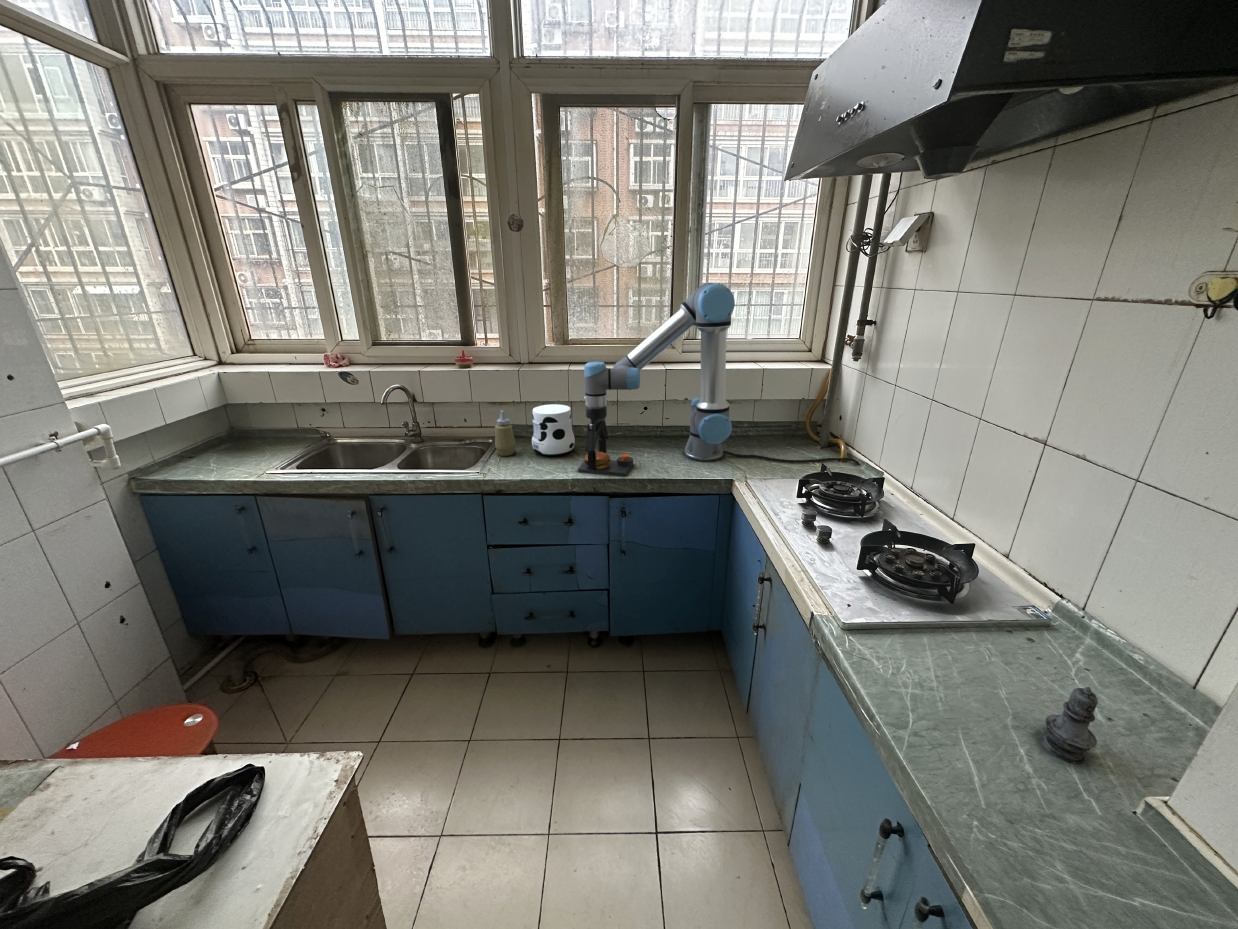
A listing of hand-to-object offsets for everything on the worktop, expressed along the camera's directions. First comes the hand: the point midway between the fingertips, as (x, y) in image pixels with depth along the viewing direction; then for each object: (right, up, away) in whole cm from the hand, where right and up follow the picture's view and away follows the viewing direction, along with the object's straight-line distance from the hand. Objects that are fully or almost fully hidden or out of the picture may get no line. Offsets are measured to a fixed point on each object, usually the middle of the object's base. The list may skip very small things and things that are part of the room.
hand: (597, 461), depth 185 cm
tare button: (+10, +1, +2) cm, 10 cm away
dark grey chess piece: (+76, -44, -109) cm, 140 cm away
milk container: (-19, +4, +19) cm, 27 cm away
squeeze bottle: (-38, +3, +17) cm, 42 cm away
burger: (0, -2, +1) cm, 2 cm away
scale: (+3, -2, +1) cm, 4 cm away
